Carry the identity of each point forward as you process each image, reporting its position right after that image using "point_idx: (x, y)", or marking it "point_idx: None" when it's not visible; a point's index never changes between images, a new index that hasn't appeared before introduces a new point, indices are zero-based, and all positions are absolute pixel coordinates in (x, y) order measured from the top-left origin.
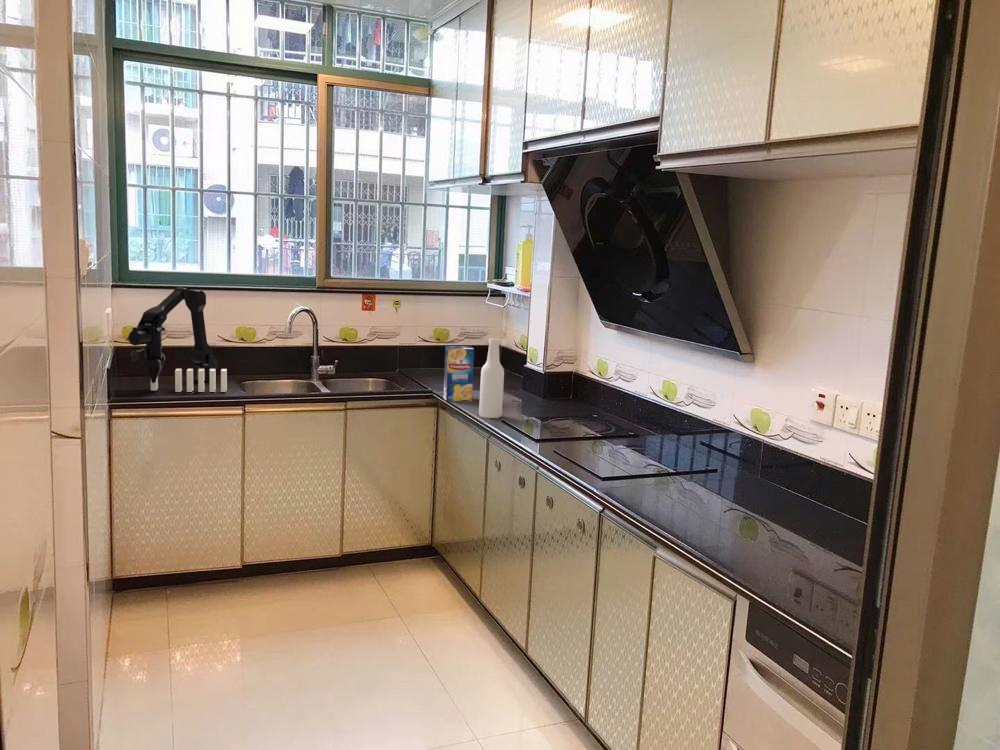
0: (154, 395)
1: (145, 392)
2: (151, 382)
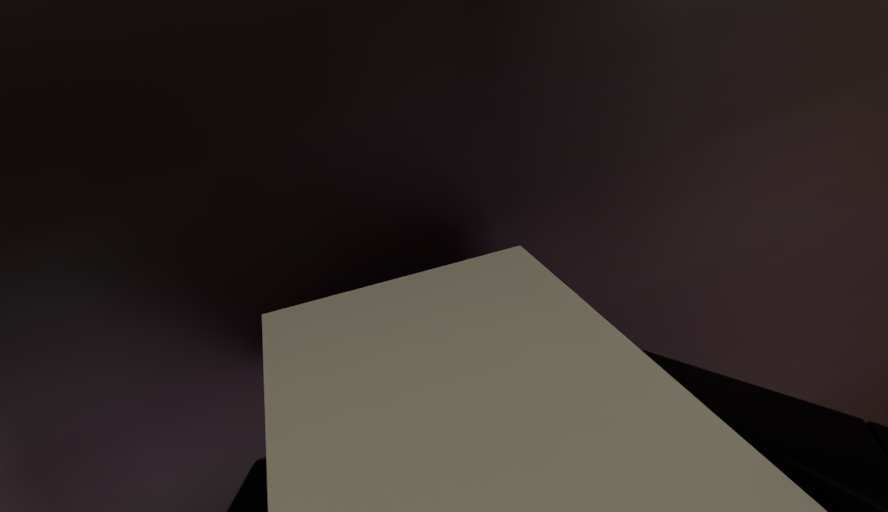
0: (18, 449)
1: (282, 175)
2: (272, 440)
